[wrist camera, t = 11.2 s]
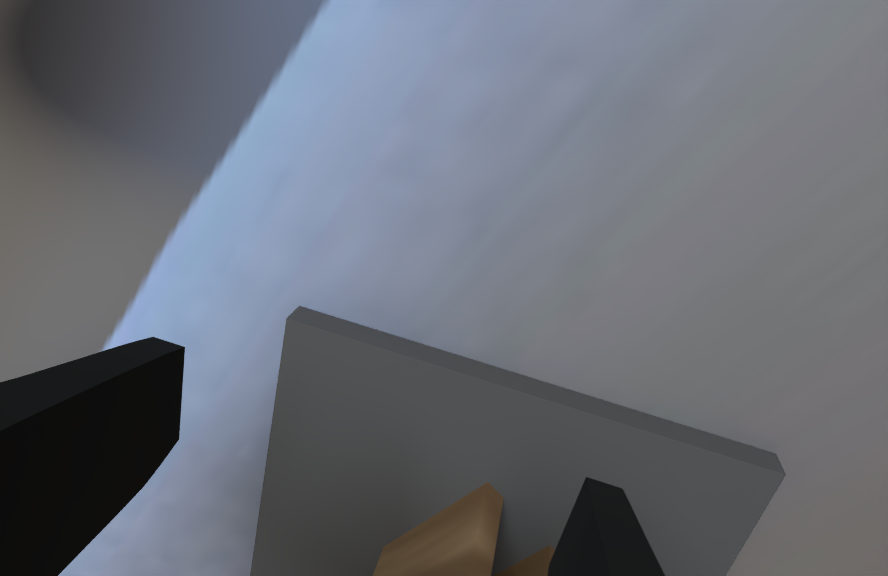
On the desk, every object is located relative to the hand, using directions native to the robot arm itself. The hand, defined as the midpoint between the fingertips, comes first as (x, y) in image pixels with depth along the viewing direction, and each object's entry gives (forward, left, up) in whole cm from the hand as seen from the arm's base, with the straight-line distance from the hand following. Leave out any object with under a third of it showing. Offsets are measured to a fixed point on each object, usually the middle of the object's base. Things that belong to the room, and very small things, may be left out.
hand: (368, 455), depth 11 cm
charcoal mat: (-3, +10, -9) cm, 14 cm away
